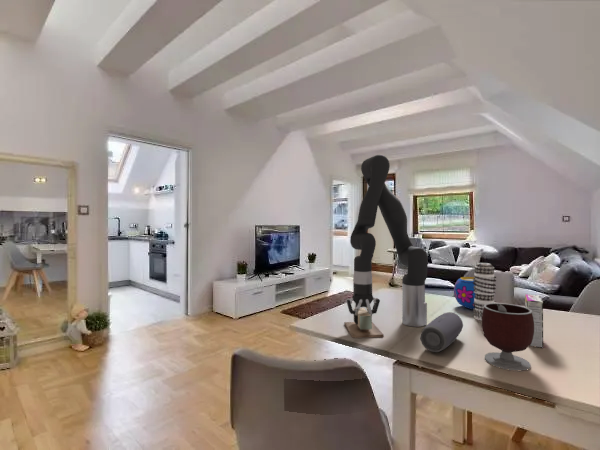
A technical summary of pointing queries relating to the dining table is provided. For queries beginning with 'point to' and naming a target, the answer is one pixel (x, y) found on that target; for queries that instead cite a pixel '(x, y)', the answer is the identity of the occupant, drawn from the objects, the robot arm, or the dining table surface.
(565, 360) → the dining table surface
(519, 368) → the mate gourd
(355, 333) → the walnut board
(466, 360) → the dining table surface
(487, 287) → the decorative candle
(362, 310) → the beech block
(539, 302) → the candy bar box
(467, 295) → the ceramic pot
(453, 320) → the bluetooth speaker
